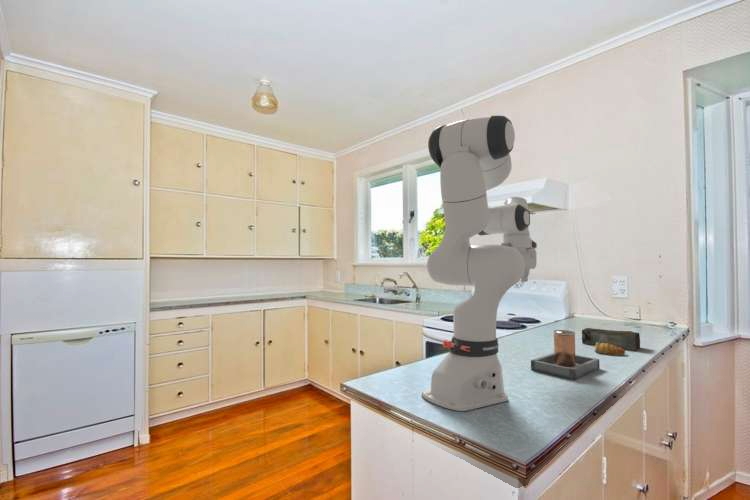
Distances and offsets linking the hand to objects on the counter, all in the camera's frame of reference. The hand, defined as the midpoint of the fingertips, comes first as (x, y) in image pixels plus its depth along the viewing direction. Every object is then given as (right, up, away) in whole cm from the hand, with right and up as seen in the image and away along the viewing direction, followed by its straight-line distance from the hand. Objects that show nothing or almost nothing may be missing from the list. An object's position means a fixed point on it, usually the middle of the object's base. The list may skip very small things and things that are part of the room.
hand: (517, 282), depth 128 cm
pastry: (+36, -28, +6) cm, 46 cm away
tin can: (+10, -26, -13) cm, 31 cm away
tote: (+10, -27, -14) cm, 31 cm away
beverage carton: (+45, -28, +18) cm, 56 cm away
